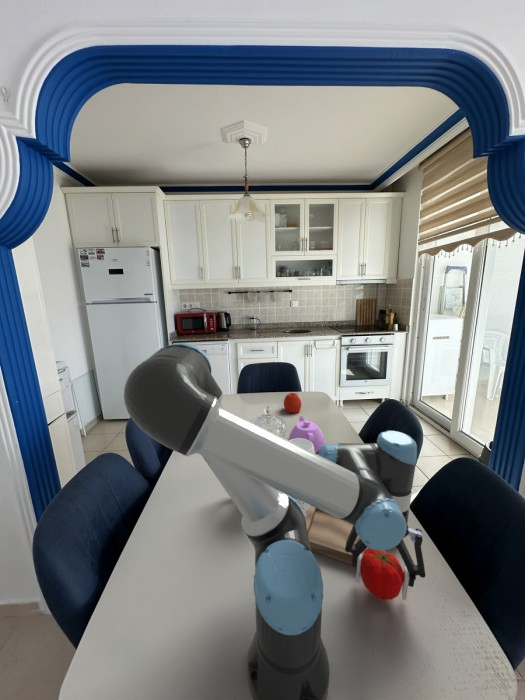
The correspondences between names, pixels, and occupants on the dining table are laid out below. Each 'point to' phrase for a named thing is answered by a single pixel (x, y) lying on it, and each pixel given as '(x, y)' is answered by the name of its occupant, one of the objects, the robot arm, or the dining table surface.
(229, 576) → the dining table surface
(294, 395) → the apple
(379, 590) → the tomato
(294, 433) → the teapot
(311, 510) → the tray
